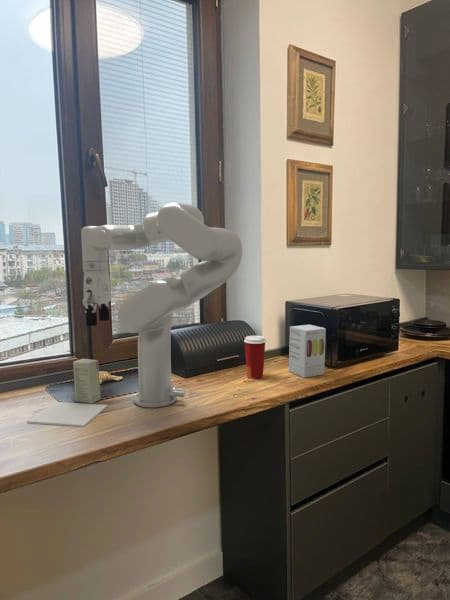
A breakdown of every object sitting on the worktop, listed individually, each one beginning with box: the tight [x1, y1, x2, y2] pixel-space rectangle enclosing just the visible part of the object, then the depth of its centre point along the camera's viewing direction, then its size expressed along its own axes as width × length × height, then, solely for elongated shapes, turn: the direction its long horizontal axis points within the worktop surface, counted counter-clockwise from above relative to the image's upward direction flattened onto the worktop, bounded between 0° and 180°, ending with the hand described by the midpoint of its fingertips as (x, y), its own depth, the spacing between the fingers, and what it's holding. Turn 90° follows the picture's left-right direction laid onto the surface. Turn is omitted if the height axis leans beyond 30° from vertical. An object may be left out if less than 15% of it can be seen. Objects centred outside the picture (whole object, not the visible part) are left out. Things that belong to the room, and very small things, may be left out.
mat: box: [26, 401, 108, 428], centre depth 119 cm, size 16×14×1 cm
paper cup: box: [243, 335, 267, 380], centre depth 152 cm, size 8×8×14 cm
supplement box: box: [288, 324, 327, 379], centre depth 156 cm, size 10×9×17 cm
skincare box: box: [72, 358, 102, 404], centre depth 129 cm, size 6×4×12 cm
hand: (98, 322), depth 136 cm, fingers open, 8 cm apart
